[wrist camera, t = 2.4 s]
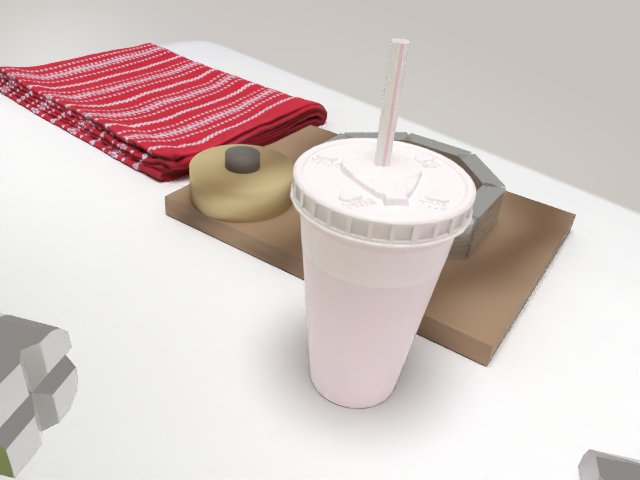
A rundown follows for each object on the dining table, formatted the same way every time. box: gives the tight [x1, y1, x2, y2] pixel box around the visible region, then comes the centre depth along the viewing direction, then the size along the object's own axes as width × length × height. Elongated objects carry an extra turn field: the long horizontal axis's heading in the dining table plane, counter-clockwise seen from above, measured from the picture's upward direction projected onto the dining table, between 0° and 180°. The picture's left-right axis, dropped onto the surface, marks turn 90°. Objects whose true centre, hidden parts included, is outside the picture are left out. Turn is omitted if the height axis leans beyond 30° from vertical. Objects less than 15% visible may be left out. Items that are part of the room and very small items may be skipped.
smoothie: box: [290, 39, 476, 408], centre depth 22 cm, size 6×6×14 cm
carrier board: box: [165, 125, 576, 366], centre depth 35 cm, size 20×15×4 cm
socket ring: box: [322, 132, 506, 260], centre depth 35 cm, size 11×11×2 cm
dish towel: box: [0, 43, 327, 182], centre depth 49 cm, size 17×24×3 cm
